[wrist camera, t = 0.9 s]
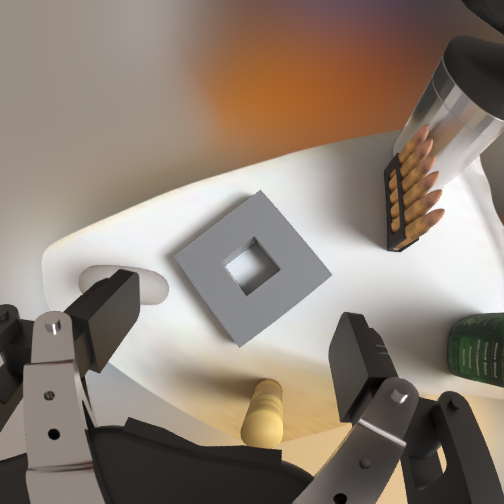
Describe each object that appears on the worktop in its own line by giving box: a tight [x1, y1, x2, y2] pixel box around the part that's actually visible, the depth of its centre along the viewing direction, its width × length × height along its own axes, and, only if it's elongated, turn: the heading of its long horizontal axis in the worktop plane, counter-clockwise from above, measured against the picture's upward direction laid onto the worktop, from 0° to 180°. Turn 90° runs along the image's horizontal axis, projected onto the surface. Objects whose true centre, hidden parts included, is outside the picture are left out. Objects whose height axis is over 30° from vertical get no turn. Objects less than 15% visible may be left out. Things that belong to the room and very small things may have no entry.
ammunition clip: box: [384, 124, 445, 252], centre depth 26 cm, size 11×2×12 cm, turn 174°
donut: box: [79, 265, 169, 305], centre depth 28 cm, size 10×4×10 cm, turn 90°
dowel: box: [241, 379, 283, 449], centre depth 23 cm, size 3×3×12 cm
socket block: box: [174, 190, 332, 348], centre depth 31 cm, size 12×12×2 cm
